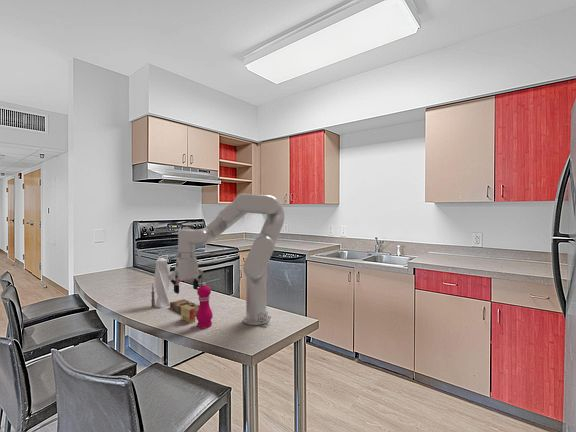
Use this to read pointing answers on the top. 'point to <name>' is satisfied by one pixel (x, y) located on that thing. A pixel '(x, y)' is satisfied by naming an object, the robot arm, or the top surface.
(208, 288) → the pepper mill
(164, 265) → the skyscraper
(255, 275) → the robot arm
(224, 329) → the top surface
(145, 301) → the top surface
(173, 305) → the rail
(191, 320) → the tan rectangular block
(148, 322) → the top surface
